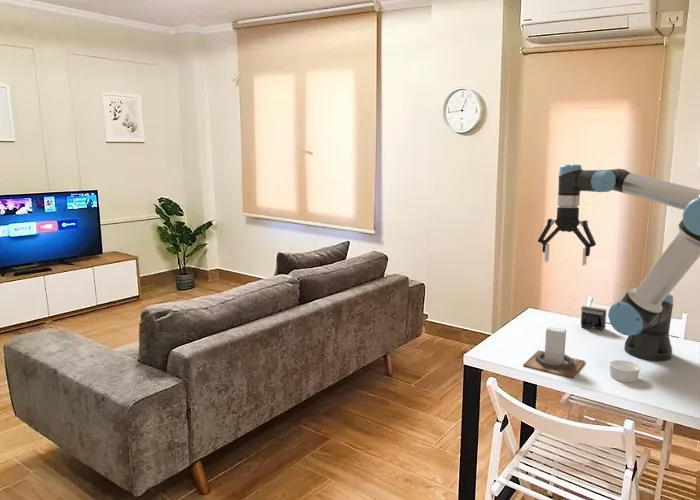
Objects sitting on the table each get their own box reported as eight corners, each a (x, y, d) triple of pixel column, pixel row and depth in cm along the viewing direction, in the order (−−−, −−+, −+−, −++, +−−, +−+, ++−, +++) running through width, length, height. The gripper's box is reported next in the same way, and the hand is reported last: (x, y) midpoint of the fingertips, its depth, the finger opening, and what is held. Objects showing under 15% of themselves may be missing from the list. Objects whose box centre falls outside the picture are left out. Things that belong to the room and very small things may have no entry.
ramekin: (625, 385, 168) (627, 372, 168) (602, 374, 176) (603, 362, 176) (645, 380, 172) (646, 368, 171) (621, 370, 180) (622, 358, 179)
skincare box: (564, 362, 184) (567, 328, 182) (562, 366, 181) (565, 332, 178) (545, 358, 187) (548, 325, 185) (543, 363, 184) (546, 329, 181)
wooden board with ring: (584, 362, 186) (585, 356, 185) (572, 378, 173) (573, 372, 173) (538, 351, 195) (538, 346, 195) (523, 366, 182) (523, 360, 182)
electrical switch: (605, 329, 219) (607, 307, 216) (603, 333, 215) (605, 312, 212) (580, 324, 224) (582, 304, 221) (578, 329, 220) (579, 308, 217)
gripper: (606, 207, 195) (602, 264, 199) (537, 204, 209) (534, 258, 213) (602, 208, 189) (598, 268, 193) (531, 206, 203) (528, 261, 207)
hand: (565, 263), depth 203 cm, fingers open, 13 cm apart
